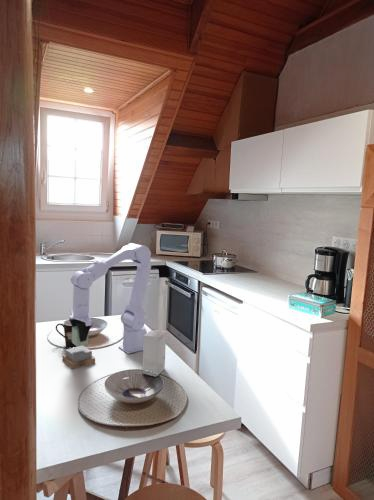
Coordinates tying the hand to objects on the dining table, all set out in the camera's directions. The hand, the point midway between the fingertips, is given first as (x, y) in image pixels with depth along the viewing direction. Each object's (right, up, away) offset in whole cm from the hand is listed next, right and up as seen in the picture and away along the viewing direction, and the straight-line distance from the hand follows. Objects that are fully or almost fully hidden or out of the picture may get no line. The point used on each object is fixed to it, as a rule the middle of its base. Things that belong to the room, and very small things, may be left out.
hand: (80, 338), depth 138 cm
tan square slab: (-1, -9, +1) cm, 10 cm away
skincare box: (+28, -11, -3) cm, 30 cm away
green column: (0, -2, 0) cm, 2 cm away
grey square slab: (-1, -7, +1) cm, 7 cm away
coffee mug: (-9, -7, +17) cm, 20 cm away
